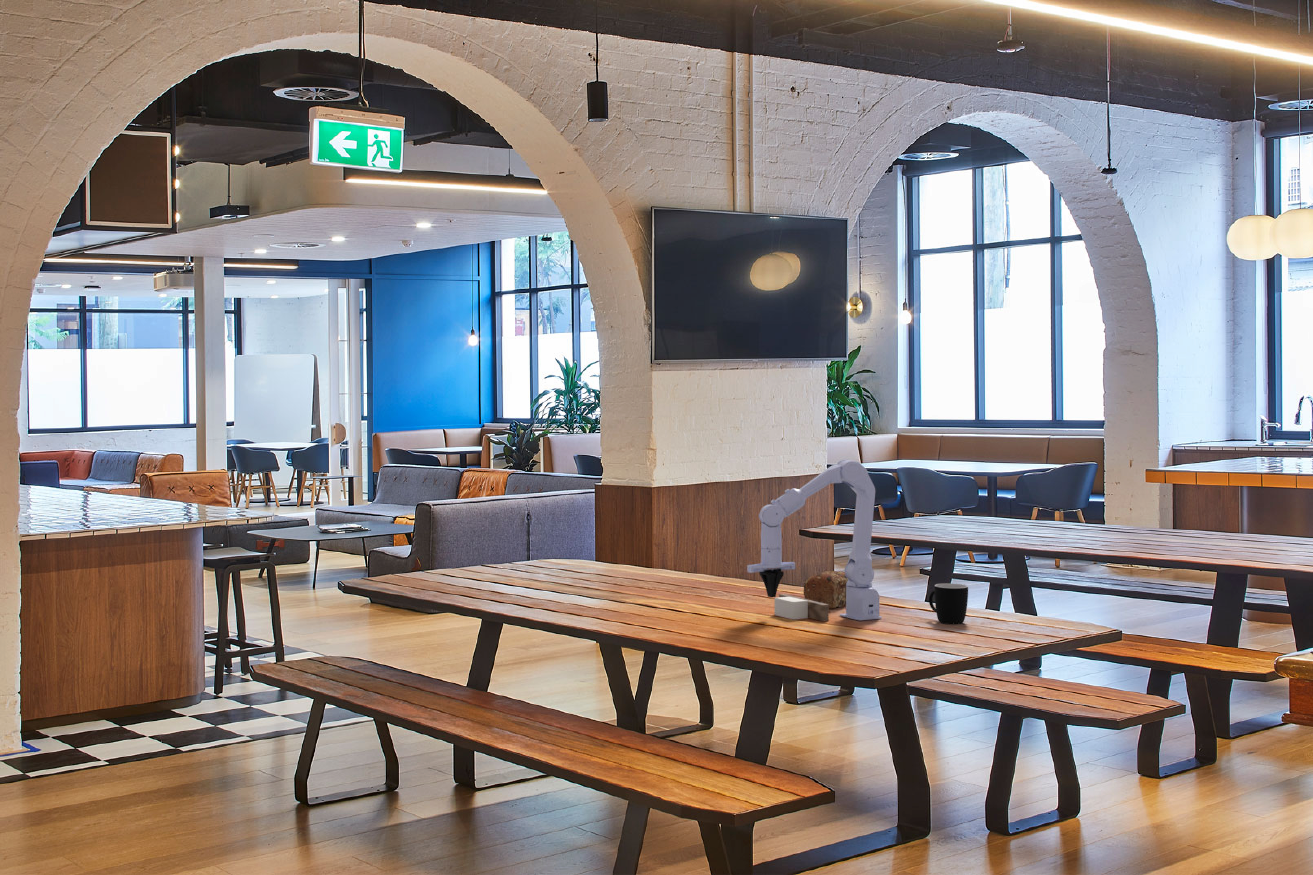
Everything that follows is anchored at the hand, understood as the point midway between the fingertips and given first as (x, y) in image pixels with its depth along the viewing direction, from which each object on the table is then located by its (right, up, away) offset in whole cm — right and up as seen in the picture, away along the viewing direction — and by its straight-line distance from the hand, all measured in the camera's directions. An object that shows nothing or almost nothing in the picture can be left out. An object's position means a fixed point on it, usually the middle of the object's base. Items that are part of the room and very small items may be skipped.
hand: (771, 596), depth 356 cm
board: (+9, -6, +6) cm, 12 cm away
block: (+6, -6, +4) cm, 9 cm away
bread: (+20, -6, +26) cm, 33 cm away
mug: (+48, -6, -5) cm, 48 cm away
